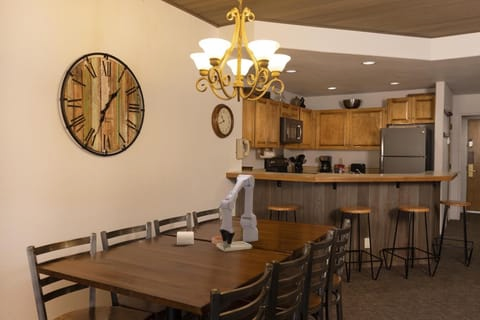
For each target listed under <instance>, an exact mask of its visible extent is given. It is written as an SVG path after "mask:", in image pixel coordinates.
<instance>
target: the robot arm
mask: <svg viewBox="0 0 480 320" xmlns="http://www.w3.org/2000/svg"><path fill="white" fill-rule="evenodd" d="M253 175H254V174H238V176H237V177H236V183H235V185H234V187H233V189H232V190H230V191H229V192H228V194H227V196H226V197H225V199H223V200H221V202H220V204H219V205H220V209H221V213H222V219H221V221H222V223H221V224H222V225H221V226H220V229H219V232H220V236H222V240H223V241H227V243H228V244H231V243H232V239H233V240H234V237H235V235H236V232H235V231H234V229H233V210H234V208H235V203H236V201H237V198H238V197H239V192H240V191H241V190H242V188H243V189H244V191H245V192H244V213H243V214H242V215H240V221H239V223H240V226H241V228H242V241H244V242H246V243H248V242H250V243H251V242H256V241H259V231H258V230H259V229H258V227H257V225H258V222H257V216H256V215H255V214H254V212H253V211H254V210H253V209H254V207H253V205H254V203H253V202H254V188H255V179H256V178H255V177H254V176H253Z"/></svg>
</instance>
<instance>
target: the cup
mask: <svg viewBox="0 0 480 320" xmlns="http://www.w3.org/2000/svg"><path fill="white" fill-rule="evenodd" d="M194 237H195V235H194V231H177V233H176V245H177V246H187V245H188V246H189V245H194V243H195V242H194V241H195V239H194Z"/></svg>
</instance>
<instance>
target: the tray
mask: <svg viewBox="0 0 480 320" xmlns="http://www.w3.org/2000/svg"><path fill="white" fill-rule="evenodd" d="M215 247H216V248H218V249H220V250H221V251H223V252H232V251H239V250H240V251H241V250H243V251H244V250H249V249H253V245H252V244H250V243H248V242H246V241H243V240H240V241H233V242H232V243H231V247H230V248H224V247H223V243H218V244H216V245H215Z"/></svg>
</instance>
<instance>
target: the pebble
mask: <svg viewBox="0 0 480 320" xmlns="http://www.w3.org/2000/svg"><path fill="white" fill-rule="evenodd" d="M223 247H224V248H230V247H231V244H228V243H227V241H223Z"/></svg>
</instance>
